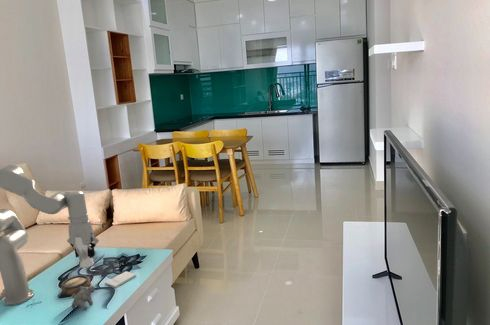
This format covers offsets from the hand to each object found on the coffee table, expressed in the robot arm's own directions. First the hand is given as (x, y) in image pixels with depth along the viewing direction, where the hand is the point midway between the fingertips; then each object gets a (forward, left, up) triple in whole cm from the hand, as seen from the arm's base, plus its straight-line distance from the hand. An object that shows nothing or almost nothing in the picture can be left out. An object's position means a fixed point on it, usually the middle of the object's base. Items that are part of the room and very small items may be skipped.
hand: (85, 256), depth 184 cm
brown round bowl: (-11, +3, -18) cm, 22 cm away
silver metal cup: (0, 0, -5) cm, 5 cm away
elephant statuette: (+2, -9, -19) cm, 21 cm away
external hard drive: (+8, +12, -19) cm, 24 cm away
